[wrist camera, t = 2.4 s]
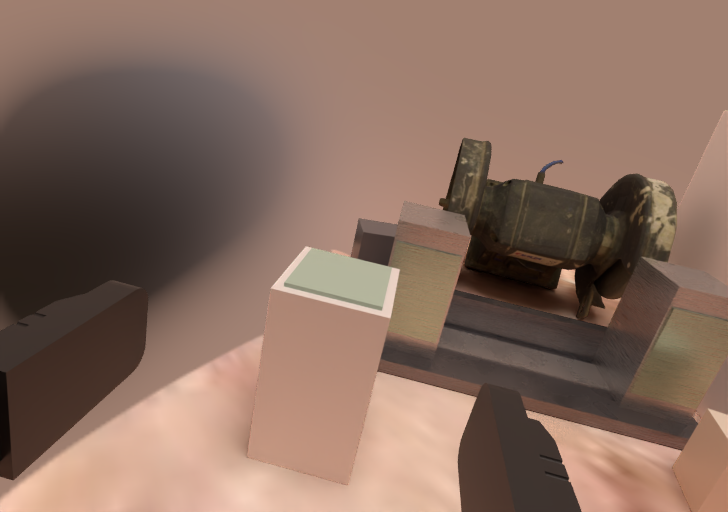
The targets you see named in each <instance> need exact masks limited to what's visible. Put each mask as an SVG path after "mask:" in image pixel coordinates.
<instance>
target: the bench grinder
mask: <svg viewBox="0 0 728 512" xmlns="http://www.w3.org/2000/svg"><path fill="white" fill-rule="evenodd" d="M490 159H491V143H490V142H489V141H483V142H482V141H476V140H472V139H467V138H464V139H463V140H462V143H461V146H460V149H459V153H458V157H457V161H456V164H455V168H454V172H453V175H452V178H451V182H450V186H449V189H448V193H447V196H446V199H444V198H441V199H440V201H439V205H440V206H443V210H445V211H449V212H453V213H457V214H462V215H465V218H466V222H467V225H468V229H469V233H470V235H472V236H471V240H470V243H469V247H468V251H467V255H466V259H465V264H464V265H465V266H466V267H468V268H472V269H475V270H479V271H483V272H487V273H491V274H495V275H499V276H502V277H506V278H510V279H514V280H518V281H522V282H526V283H530V284H534V285H538V286H542V287H546V288H550V289H556V288H557V285H558V281H559V277H560V274H561V270H562V269H567V270H572V269H575V286H576V294H577V297H578V300H579V303H580V306H579V309H578V312H577V315H576V317H578V318H585V317H587V316H588V313H589V309H590V306H591V305H593V306H597V307H600V308H604V309H605V306H604V304H603V302H602V298H601V296H603V297H605V298H607V299H618V298H621V297H622V295H623V293H624V291H625V289H626V287H627V285H628V282H629V280H630V278H631V276H632V274H633V271H634V269H635V267H636V265H637V263H638V261H639V258H640V256H641V257H645V258H650V259H654V260H658V261H662V262H667V263H668V260H669V256H670V252H671V248H672V245H673V242H674V238H675V234H676V229H677V202H676V198H675V195H674V191H673V190H672V189H671V187H670V186H669V185H668V184H667V183H665V182H663V181H660V180H654V179H650V178H646V177H643V176H641V175H639V174H629V175H626V176H624V177H623V178H621V179H619V180H618V181H617V182H616V183H615V184H614V185H613V186H612V187H611V188H610V189H609V190H608V191H607V192H606V193H605V195H604V196H603V197H602V198H601V199H600V201H599V199H597V198H594V197H591V196H588V195H584V194H580V193H577V192H574V191H570V190H566V189H562V188H558V187H554V186H549V185H545V184H543V181H544V178H545V171H546V169H548V168H549V167H551V166H552V165H554V164H558V163H559V164H562V163H563V161H562V160H559V161H553V162H551V163H549V164H547V165H546V166H544V167H543V168H542V170H541V171H540V172H539V173H538V175H537V178H536V181H535V182H533V181H529V180H525V181H524V180H518V179H512V180H508V181H505V182H499V181H495V180H490V179H487V175H488V170H489V164H490ZM583 304H584V308H583V311H582V313H580V312H581V309H582V306H583Z"/></svg>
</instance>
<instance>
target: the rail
mask: <svg viewBox="0 0 728 512" xmlns="http://www.w3.org/2000/svg"><path fill="white" fill-rule="evenodd" d="M470 238H471V236H470V233H469V229H468V225H467V222H466V218H465V215H462V214H457V213H453V212H449V211H445V210H440V209H436V208H431V207H427V206H423V205H419V204H415V203H410V202H406V201H404V203H403V207H402V211H401V215H400V219H399V222H398V226H397V230H396V234H395V239H394V243H393V247H392V251H391V255H390V259H389V263H388V267H392V268H396V269H400V271H399V276H398V282H397V287H396V292H395V298H394V303H393V308H392V313H391V319H390V323H389V327H388V330H387V334H386V338H385V342H384V346H383V350H382V354H381V358H380V362H379V366H378V370H377V371H381V372H385V373H389V374H392V375H396V376H400V377H404V378H408V379H412V380H416V381H419V382H423V383H427V384H431V385H435V386H439V387H442V388H446V389H450V390H454V391H458V392H462V393H465V394H469V395H473V396H478V393H479V391H480V389H481V387H482V385H483V384H484V383H489V384H492V385H496V386H500V387H503V388H507V389H511V390H514V391H518V392H519V393H520V395H521V398H522V401H523V404H524V407H525V409H527V410H531V411H535V412H538V413H542V414H546V415H550V416H554V417H558V418H562V419H565V420H569V421H573V422H577V423H581V424H585V425H588V426H592V427H596V428H600V429H604V430H608V431H611V432H615V433H619V434H623V435H627V436H631V437H635V438H638V439H642V440H646V441H650V442H654V443H658V444H661V445H665V446H669V447H673V448H677V449H681V450H683V449H684V447H685V445H686V444H687V442H688V440H689V439H690V437H691V435H692V434H693V432H694V430H695V429H696V427H697V425H698V423H697V422H696V421H695V419H694V418H693V417H692V416H693V415H694V413H695V411H696V409H697V408H698V406H699V404H700V403H701V401H702V399H703V398H704V396H705V394H706V392H707V391H708V389H709V387H710V386H711V384H712V382H713V380H714V379H715V377H716V375H717V374H718V372H719V370H720V368H721V367H722V365H723V363H724V362H725V360H726V358H727V356H728V286H727V285H725V284H724V283H722V282H721V281H719V280H718V279H716V278H715V277H713V276H711V275H710V274H708V273H707V272H705V271H701V270H696V269H692V268H688V267H684V266H679V265H675V264H671V263H667V262H662V261H658V260H654V259H650V258H645V257H641V256H640V258H639V261H638V263H637V265H636V267H635V269H634V271H633V274H632V276H631V278H630V280H629V282H628V285H627V287H626V289H625V291H624V293H623V295H622V298H621V300H620V302H619V304H618V306H617V309H616V311H615V313H614V315H613V317H612V319H611V322H610V324H609V326H608V327H604V326H600V325H596V324H592V323H588V322H584V321H580V320H575V319H571V318H567V317H563V316H559V315H555V314H551V313H547V312H543V311H539V310H535V309H531V308H527V307H523V306H518V305H514V304H510V303H506V302H502V301H498V300H494V299H490V298H486V297H482V296H478V295H474V294H470V293H466V292H461V291H457V290H455V287H456V283H457V280H458V277H459V274H460V270H461V267H462V264H463V260H464V257H465V254H466V251H467V247H468V244H469V241H470Z"/></svg>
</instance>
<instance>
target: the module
mask: <svg viewBox="0 0 728 512" xmlns="http://www.w3.org/2000/svg"><path fill="white" fill-rule="evenodd" d="M399 271H400V269H396V268H392V267H388V266H384V265H380V264H376V263H372V262H368V261H364V260H360V259H356V258H352V257H347V256H343V255H339V254H335V253H331V252H327V251H323V250H319V249H315V248H310V247H305V248H304V249H303V251H302V252H301V253H300V254H299V255H298V257H297V258H296V259H295V260H294V261H293V262H292V264H291V265H290V266H289V267H288V268H287V269H286V271H285V272H284V273H283V274H282V275H281V277H280V278H279V279H278V280H277V281H276V282H275V284H274V285H273V286H272V287H271V289H270V296H269V303H268V310H267V318H266V324H265V331H264V338H263V346H262V353H261V360H260V367H259V374H258V381H257V388H256V395H255V402H254V409H253V416H252V423H251V431H250V438H249V445H248V452H247V458H251V459H255V460H258V461H262V462H265V463H269V464H273V465H276V466H280V467H283V468H287V469H291V470H294V471H298V472H301V473H305V474H308V475H312V476H316V477H319V478H323V479H326V480H330V481H334V482H337V483H341V484H344V485H348V484H349V480H350V476H351V472H352V468H353V464H354V460H355V456H356V452H357V448H358V444H359V440H360V436H361V433H362V429H363V425H364V421H365V417H366V413H367V409H368V405H369V401H370V397H371V393H372V389H373V385H374V382H375V378H376V374H377V370H378V366H379V362H380V358H381V354H382V350H383V346H384V342H385V338H386V334H387V330H388V327H389V323H390V319H391V313H392V308H393V303H394V298H395V292H396V287H397V282H398V276H399Z"/></svg>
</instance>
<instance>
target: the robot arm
mask: <svg viewBox="0 0 728 512" xmlns="http://www.w3.org/2000/svg"><path fill="white" fill-rule="evenodd" d="M147 310H148V294H147V292H146V290H145V289H143V288H139V287H135V286H132V285H128V284H124V283H120V282H117V281H109V282H106V283H104V284H103V285H101V286H99V287H97V288H95V289H94V290H92V291H90V292H88V293H86V294H84V295H83V294H82V295H78V296H74V297H70V298H67V299H63V300H59V301H56V302H54V303H52V304H50V305H48V306H46V307H44V308H42V309H41V310H39V311H37V312H35V314H34V315H29V316H28V317H25V318H24V319H22V320H20V321H18V323H17V324H16V325H14V324H12V325H10V326H9V327H7V328H5V329H3V330H1V331H0V477H4V478H7V479H11V480H14V479H15V478H17V476H19V475H20V474H21V473H22V472H23V471H24V470H25V469H26V468H28V467H29V466H30V465H31V464H32V463H33V462H34V461H35V460H36V459H38V458H39V457H40V456H41V455H42V454H43V453H44V452H45V451H46V450H47V449H48V448H50V447H51V446H52V445H53V444H54V443H55V442H56V441H57V440H58V439H60V438H61V437H62V436H63V435H64V434H65V433H66V432H67V431H68V430H70V429H71V428H72V427H73V426H74V425H75V424H76V423H77V422H78V421H79V420H81V419H82V418H83V417H84V416H85V415H86V414H87V413H88V412H89V411H90V410H92V409H93V408H94V407H95V406H96V405H97V404H98V403H99V402H100V401H102V400H103V399H104V398H105V397H106V396H107V395H108V394H109V393H110V392H111V391H113V389H115V387H117V386H118V385H119V384H120V383H121V382H122V381H124V380H125V379H126V378H127V377H128V376H129V375H130V374H131V373H132V372H133V371H134V370H135V369H136V367H137V366H138V364H139V363H140V361H141V359H142V356H143V354H144V350H145V342H146V326H147ZM458 472H459V485H460V497H461V510H462V512H581V509H580V506H579V503H578V501H577V498H576V495H575V493H574V490H573V487H572V485H571V482H569V481H568V480H569V477H568V474H567V471H566V469H565V466H564V465H563V464H562V458H561V455H560V453H559V450H558V447H557V445H556V442H555V440H554V439H553V438H552V436H551V435H550V434H549V433H548V431H547V430H546V429H545V428H544V426H543V425H542V424H541V423H540V422H539V421H537V420H534V419H530V418H528V417H527V414H526V410H525V407H524V404H523V401H522V398H521V395H520V393H519V392H518V391H514V390H511V389H507V388H503V387H500V386H496V385H492V384H489V383H484V384H483V385H482V387H481V389H480V391H479V393H478V396H477V399H476V401H475V404H474V406H473V409H472V412H471V414H470V417H469V420H468V422H467V425H466V428H465V430H464V433H463V436H462V439H461V443H460V447H459V454H458Z"/></svg>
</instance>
